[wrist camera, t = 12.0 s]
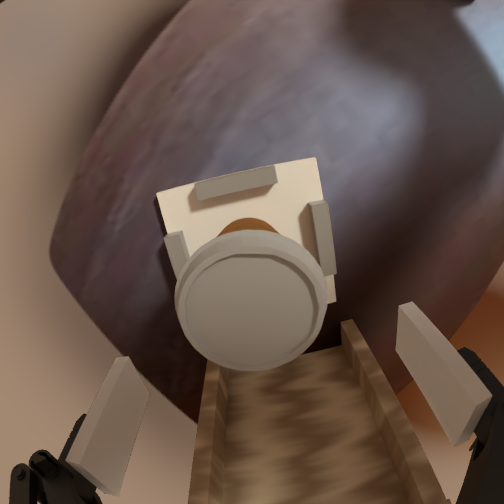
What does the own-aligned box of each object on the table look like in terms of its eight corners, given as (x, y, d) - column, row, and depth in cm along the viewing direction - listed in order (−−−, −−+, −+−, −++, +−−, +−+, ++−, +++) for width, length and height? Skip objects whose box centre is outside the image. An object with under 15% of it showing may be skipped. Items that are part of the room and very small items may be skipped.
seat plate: (313, 157, 26) (319, 157, 24) (333, 297, 31) (340, 308, 29) (159, 192, 27) (151, 195, 24) (200, 324, 32) (197, 337, 29)
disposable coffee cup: (220, 305, 30) (208, 389, 18) (184, 219, 27) (143, 268, 15) (309, 277, 29) (344, 351, 18) (282, 186, 26) (311, 211, 15)
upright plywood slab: (352, 315, 32) (474, 561, 3) (353, 350, 34) (445, 571, 5) (208, 345, 33) (174, 617, 4) (220, 378, 34) (206, 615, 6)
